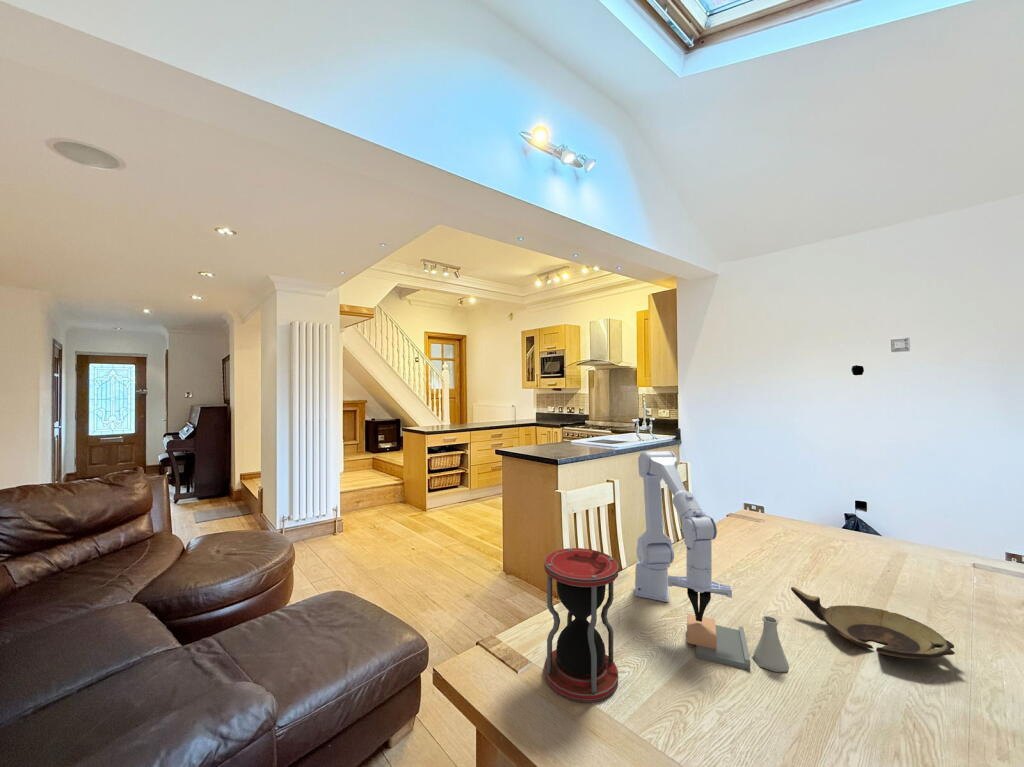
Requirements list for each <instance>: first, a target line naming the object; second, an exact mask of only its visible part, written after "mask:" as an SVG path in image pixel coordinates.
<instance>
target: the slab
mask: <svg viewBox="0 0 1024 767" xmlns="http://www.w3.org/2000/svg"><path fill="white" fill-rule="evenodd" d="M715 625H716V619H715V618H711V617H710V618H709V617H705V616H703V618H702V622H700V621H696V617H695V614H691V613H687V614H686V643H688V644H691V645H700V646H704V647H708V648H712V649H717V636H716V626H715Z"/></svg>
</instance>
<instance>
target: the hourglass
mask: <svg viewBox="0 0 1024 767" xmlns="http://www.w3.org/2000/svg"><path fill="white" fill-rule="evenodd" d="M543 562H544V563H543V568H544V571H545V573H546V574H547V577H546V583H547V585H546V587H547V588H546V591H547V592H546V594H547V595H546V598H547V599H546V607H547V608H548V611H549V612H550V614H551V615H552V618H553V626H552V628H551V630H550V631H549V633H548V635H547V638H546V657H545V661H544V664H543V674H544V679H545V681H546V682H547V684H548V686H549V687H550V688H551V690H553V691H555V692H556V693H557V694H558V695H559V696H561V697H563V698H566V699H568V700H570V701H573V702H579V703H597V702H600V701H603V700H605V699H607V698H609V697H610V696H611V695H613V694H614V693H615V692H616V690H617V688H618V686H619V670H618V668H617V665H616V662H614V630H613V626H612V624H611V623H610V622H609V621H608V612H609V609H610V608H611V606H612V604H613V602H614V581H615V580H616V579H617V578H618V577H619V563H618V562H617V560H616V559H615V558H613V557H612V556H610V555H608V554H606V553H604V552H602V551H599V550H595V549H591V548H583V547H582V548H581V547H568V548H563V549H562V548H561V549H557V550H555V551H552V552H550V553H549V554H547V555H546V556H545V559H544V561H543ZM553 580H555V581H556V584H555V585H556V592H557V595H558V598H559V601H560V602H561V604H562V605H563V607H565V608H566V610H568V612H567V614H566V615H567V616H566V617H567V618H566V626H565V627H564V628H562V629H561V632H559V635H558V638H557V642H556V648H555V649H554V650H553V640H554V637H555V635H556V634H557V632H558V631H559V628H560V624H561V618H560V615H559V612H558V611H556V610H555V606H554V605H553ZM607 585H608V591H607V592H608V597H607V599H606V602H605V603H604V600H605V596H606V588H607V587H606V586H607ZM603 603H604V605H603V606H602V604H603ZM601 606H602V608H601V612H600V619H601V622H602V624H603V625H604V627H605V628H606V630H607V632H608V633H607V634H608V636H607V637H608V638H607V639H608V644H607V645H608V647H607V648H608V649H607V651H608V652H607V653H608V655H607V654H606V646H605V645H606V644H605V643H604V641H603V639H602V636H601V634H600V633H599V631H598V630H597V629H596V626H597V622H598V620H597V618H598V617H597V616H598V614H597V613H598V612H597V611H598V609H599V608H600V607H601ZM590 616H591V618H590V622H589V621H588V618H589V617H590ZM573 617H574V619H573Z"/></svg>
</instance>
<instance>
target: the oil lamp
mask: <svg viewBox="0 0 1024 767" xmlns="http://www.w3.org/2000/svg"><path fill="white" fill-rule="evenodd" d="M790 590H791V591H792V593H793V594H794V595H795V596H796V597H797V598H798V599H799V600H800V601H801V602H802V604H804V605H805V606H806V608H808V609H809V611H810V612H811V613H812V614H813V615H814V616H815V617H816V618H817V619H819V620H820V621H822V622H825V624H826V625H827V627H829V628H830V629H831V630H833V631H834V632H835V633H837V634H839V635H840V636H841V637H843V638H845V639H846V640H847V641H848V640H849V641H850V642H852V643H854V644H856V645H859V646H861V647H864V648H867V649H874V647H873V646H872V645H871V644H869V643H867V642H870V641H871V642H875V643H879V644H884V645H883V646H882V647H881V646H880V647H876V650H875V651H876V653H878V654H882V655H886V656H890V657H895V658H896V657H897V658H902V659H916V660H918V659H935V658H941V657H944V656H954V655H955V654H956V652H955V651H954V650H952V649H954V648H955V645H954V644H953V643H952V642H951V641H949V640H947V639H945V638H944V636H942V635H941V634H940V633H938V632H937V630H935V629H933V628H931V627H929V626H928V625H925V624H924V623H922V622H919V621H917V620H915V619H913V618H910V617H908V616H906V615H902V614H900V613H897V612H891V611H888V610H886V609H885V610H884V609H882V608H881V609H880V608H875V607H871V606H870V607H868V606H862V605H851V604H850V605H844V604H843V605H832V606H829V607H824V606H823V605H822V604H821V597H819V596H813V595H809V594H807V593H805V592H803V591H802V590H800V589H798V588H797V587H794V586H791V588H790Z"/></svg>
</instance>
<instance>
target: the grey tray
mask: <svg viewBox="0 0 1024 767" xmlns="http://www.w3.org/2000/svg"><path fill="white" fill-rule="evenodd" d="M715 626H716V636H717V649H712V648H708V647H704V646H700V645H696V648H695V649H696V653H695V654H696V658H698V659H703V660H706V661H710V662H715V663H719V664H723V665H727V666H731V667H735V668H739V669H744V670H748V671H751V658H750V653H749V647H748V643H747V638H746V634H745V629H744V626H741V625H739V626H738V629H736V628H731V627H726V626H721V625H718V624H717V625H716V624H715Z"/></svg>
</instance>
